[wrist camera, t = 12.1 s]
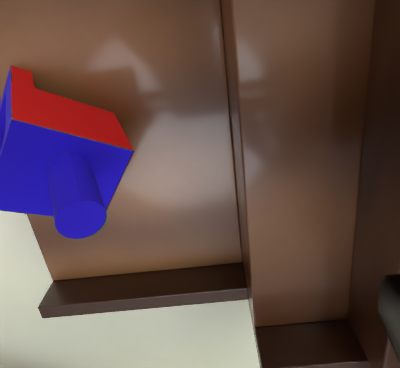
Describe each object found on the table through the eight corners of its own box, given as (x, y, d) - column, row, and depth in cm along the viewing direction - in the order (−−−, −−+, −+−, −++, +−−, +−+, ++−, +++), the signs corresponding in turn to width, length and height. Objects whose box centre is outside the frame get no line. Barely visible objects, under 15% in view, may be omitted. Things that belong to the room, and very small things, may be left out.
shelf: (318, 240, 21) (406, 399, 12) (71, 264, 22) (-19, 430, 13) (330, -148, 13) (605, -513, 4) (-53, -87, 14) (-498, -287, 5)
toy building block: (81, 158, 18) (116, 272, 12) (-11, 137, 15) (-22, 269, 10) (105, 97, 16) (157, 194, 11) (9, 64, 14) (10, 167, 8)
